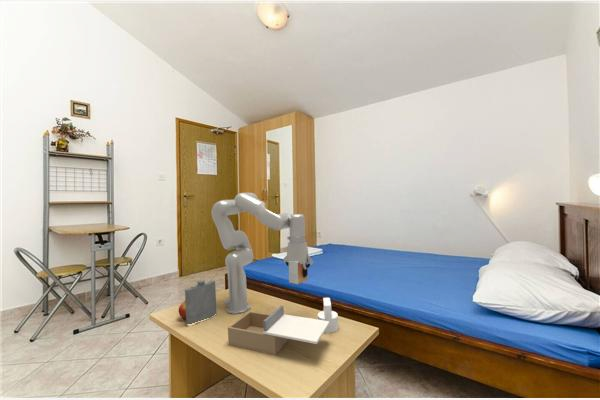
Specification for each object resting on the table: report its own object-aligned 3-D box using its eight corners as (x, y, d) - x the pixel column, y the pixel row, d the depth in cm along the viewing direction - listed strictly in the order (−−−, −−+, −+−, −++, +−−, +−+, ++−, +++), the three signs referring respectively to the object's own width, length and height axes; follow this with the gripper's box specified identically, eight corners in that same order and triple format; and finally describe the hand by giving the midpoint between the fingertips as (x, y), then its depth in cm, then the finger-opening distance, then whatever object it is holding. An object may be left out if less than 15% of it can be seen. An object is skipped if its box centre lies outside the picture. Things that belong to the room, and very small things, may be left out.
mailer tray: (228, 344, 109) (227, 327, 109) (250, 326, 124) (249, 311, 123) (275, 354, 100) (274, 336, 100) (292, 333, 115) (292, 318, 115)
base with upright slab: (317, 323, 124) (316, 297, 124) (337, 322, 123) (336, 297, 123) (318, 333, 115) (317, 305, 114) (339, 332, 114) (338, 305, 114)
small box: (297, 284, 124) (297, 262, 123) (288, 282, 127) (288, 260, 127) (307, 280, 130) (307, 259, 130) (298, 278, 133) (298, 257, 133)
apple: (197, 318, 134) (196, 299, 134) (180, 323, 129) (179, 303, 129) (194, 313, 141) (193, 294, 140) (177, 317, 136) (176, 298, 136)
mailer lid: (263, 333, 102) (262, 321, 102) (281, 315, 117) (281, 305, 117) (316, 344, 93) (316, 330, 93) (329, 323, 108) (329, 311, 108)
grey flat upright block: (214, 312, 140) (212, 275, 139) (218, 314, 137) (217, 276, 137) (185, 325, 127) (183, 284, 127) (189, 327, 125) (187, 285, 125)
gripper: (278, 240, 128) (279, 276, 128) (311, 241, 121) (312, 280, 122) (284, 237, 135) (285, 272, 135) (316, 239, 128) (317, 275, 129)
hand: (298, 275), depth 128 cm, fingers closed on small box, 6 cm apart
